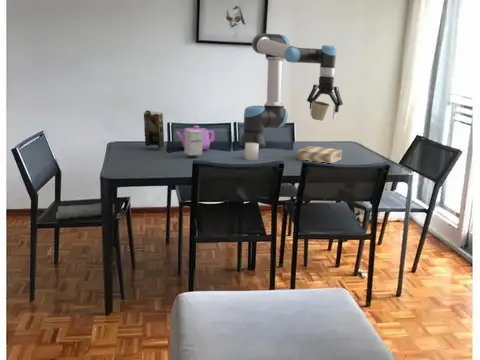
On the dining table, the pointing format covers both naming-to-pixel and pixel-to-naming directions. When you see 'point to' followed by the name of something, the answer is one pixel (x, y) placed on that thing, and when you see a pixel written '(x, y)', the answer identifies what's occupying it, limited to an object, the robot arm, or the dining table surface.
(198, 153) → the supplement box
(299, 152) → the maple block
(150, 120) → the juice carton
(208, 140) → the teakettle
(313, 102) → the flower pot
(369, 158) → the dining table surface
